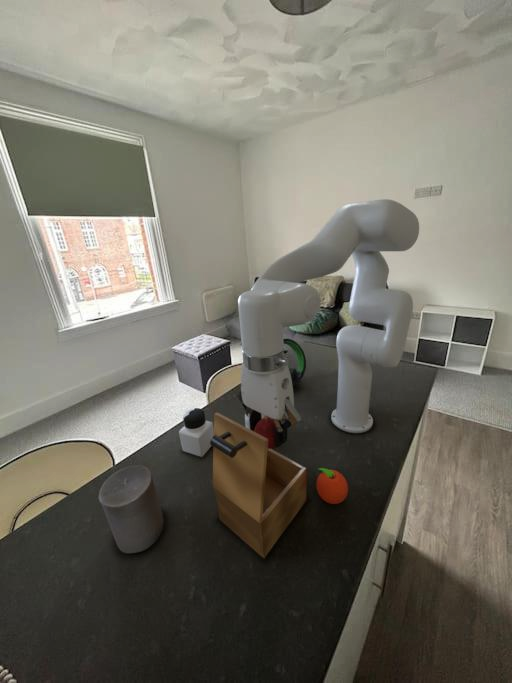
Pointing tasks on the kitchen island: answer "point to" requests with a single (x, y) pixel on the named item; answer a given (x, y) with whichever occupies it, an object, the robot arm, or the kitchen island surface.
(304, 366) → the headset
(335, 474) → the clementine
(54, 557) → the kitchen island surface
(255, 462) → the lid
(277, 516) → the chest
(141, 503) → the pillar candle
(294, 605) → the kitchen island surface
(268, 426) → the onion
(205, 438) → the medicine bottle
